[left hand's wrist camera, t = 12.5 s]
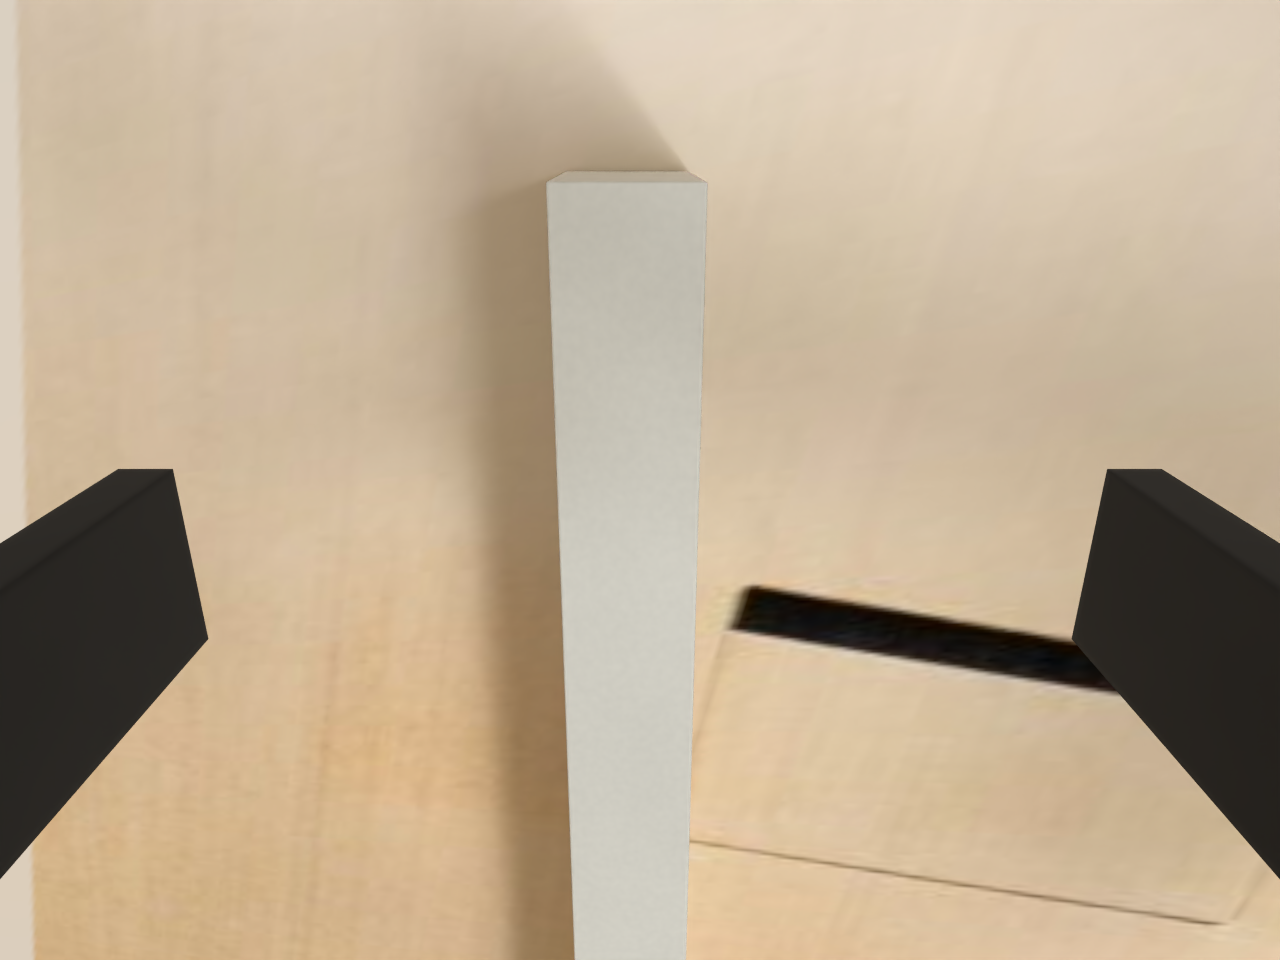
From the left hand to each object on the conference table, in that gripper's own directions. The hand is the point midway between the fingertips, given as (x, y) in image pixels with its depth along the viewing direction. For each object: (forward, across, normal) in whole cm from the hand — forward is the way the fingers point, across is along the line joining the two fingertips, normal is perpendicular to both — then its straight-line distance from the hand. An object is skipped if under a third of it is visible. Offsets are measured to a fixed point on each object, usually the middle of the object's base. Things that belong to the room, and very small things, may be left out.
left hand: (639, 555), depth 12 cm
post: (+24, 0, -24) cm, 34 cm away
